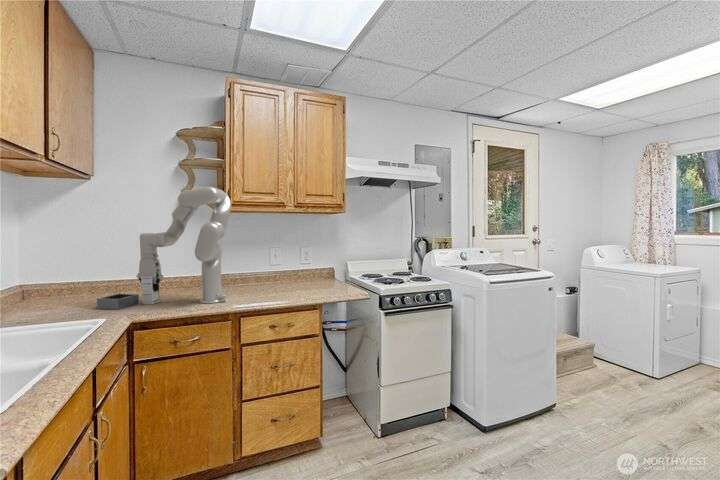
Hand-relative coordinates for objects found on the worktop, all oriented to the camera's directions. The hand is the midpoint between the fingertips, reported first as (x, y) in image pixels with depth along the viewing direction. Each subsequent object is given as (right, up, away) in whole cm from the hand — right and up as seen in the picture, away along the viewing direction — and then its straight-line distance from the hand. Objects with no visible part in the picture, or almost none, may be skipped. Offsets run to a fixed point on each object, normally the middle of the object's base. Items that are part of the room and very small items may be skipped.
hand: (150, 290), depth 185 cm
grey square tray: (-13, -7, -6) cm, 16 cm away
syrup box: (0, -7, 0) cm, 7 cm away
